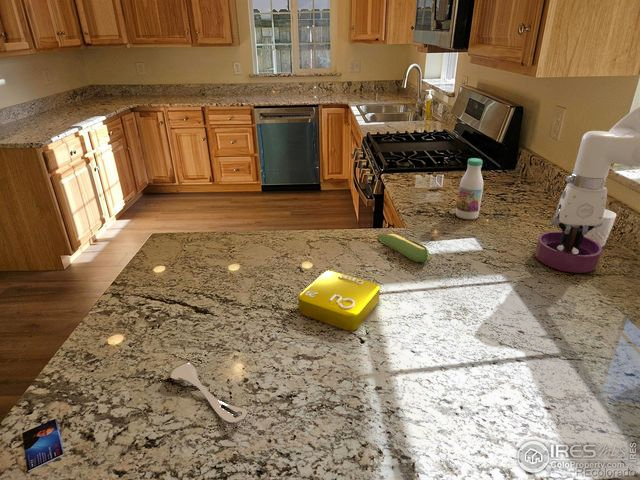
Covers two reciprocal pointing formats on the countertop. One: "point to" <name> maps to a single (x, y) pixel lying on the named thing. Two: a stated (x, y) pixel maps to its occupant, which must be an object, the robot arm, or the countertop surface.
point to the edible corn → (405, 247)
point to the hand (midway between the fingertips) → (569, 245)
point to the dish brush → (570, 242)
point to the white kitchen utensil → (207, 392)
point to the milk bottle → (470, 191)
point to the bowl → (564, 261)
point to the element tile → (339, 300)
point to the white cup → (602, 228)
